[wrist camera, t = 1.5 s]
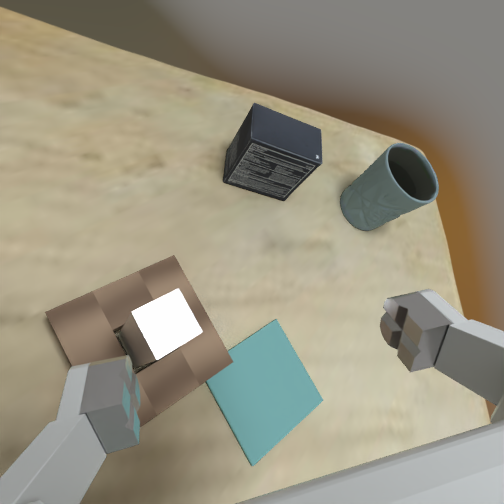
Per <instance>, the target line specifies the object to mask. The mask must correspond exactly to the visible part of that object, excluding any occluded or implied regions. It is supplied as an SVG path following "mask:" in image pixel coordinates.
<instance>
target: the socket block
mask: <svg viewBox="0 0 504 504" xmlns="http://www.w3.org/2000/svg"><path fill="white" fill-rule="evenodd" d="M178 288H179V290H180V292H181V293H182V295H183V297H184V299H185V301H186V303H187V304H188V306H189V308H190V310H191V312H192V313H193V315H194V317H195V319H196V321H197V322H198V324H199V326H200V328H201V330H202V333H201V334H199V335H197V336H196V337H194V338H192V339H191V340H189V341H187V342H186V343H184V344H182V345H181V346H179V347H177V348H176V349H174V350H173V351H172V352H170V353H168V354H167V355H165V356H163V357H162V358H160V359H158V360H157V361H155V362H153V363H152V364H150V365H148V366H147V367H145V368H144V369H142V370H140V371H139V372H137V373H135V372H134V370H133V368H132V372H133V373H135V374H136V376H137V379H138V383H139V388H140V408H139V409H138V411H137V412H136V413H137V415H138V418H139V421H140V427H141V426H143V425H144V424H146V423H147V422H148V421H150V420H151V419H153V418H154V417H156V416H157V415H158V414H160V413H161V412H163V411H164V410H166V409H167V408H168V407H170V406H171V405H173V404H174V403H176V402H177V401H178V400H180V399H181V398H183V397H184V396H186V395H187V394H188V393H190V392H191V391H193V390H194V389H196V388H197V387H198V386H200V385H201V384H203V383H204V382H206V381H207V380H208V379H210V378H211V377H213V376H214V375H216V374H217V373H218V372H220V371H221V370H223V369H224V368H226V367H227V366H228V365H230V364H231V363H233V360H232V358H231V356H230V355H229V353H228V351H227V349H226V347H225V346H224V344H223V342H222V340H221V338H220V337H219V335H218V333H217V331H216V329H215V328H214V326H213V324H212V322H211V321H210V319H209V317H208V315H207V313H206V312H205V310H204V308H203V306H202V304H201V303H200V301H199V299H198V297H197V295H196V294H195V292H194V290H193V288H192V286H191V285H190V283H189V281H188V279H187V277H186V276H185V274H184V272H183V270H182V268H181V267H180V265H179V263H178V261H177V259H176V258H175V256H171V257H169V258H167V259H164V260H162V261H160V262H158V263H155V264H153V265H151V266H149V267H146V268H144V269H142V270H140V271H137V272H135V273H133V274H131V275H128V276H126V277H124V278H121V279H119V280H117V281H115V282H112V283H110V284H108V285H106V286H103V287H101V288H99V289H97V290H94V291H92V292H90V293H88V294H85V295H83V296H81V297H78V298H76V299H74V300H72V301H69V302H67V303H65V304H63V305H60V306H58V307H56V308H54V309H51V310H49V311H47V312H45V313H46V315H47V317H48V319H49V321H50V323H51V325H52V327H53V329H54V331H55V333H56V335H57V337H58V339H59V341H60V343H61V345H62V347H63V349H64V351H65V353H66V355H67V357H68V359H69V361H70V363H71V365H72V366H76V365H81V364H87V363H91V362H95V361H100V360H105V359H111V358H116V357H121V356H126V355H125V353H124V351H123V349H122V347H121V345H120V343H119V341H118V339H117V337H116V336H115V334H114V332H116V331H118V330H120V329H121V328H122V327H123V326H124V324H125V322H126V320H127V319H128V317H129V315H130V314H131V312H132V311H134V310H136V309H138V308H140V307H142V306H144V305H146V304H148V303H150V302H152V301H154V300H156V299H158V298H160V297H162V296H164V295H166V294H168V293H170V292H172V291H174V290H176V289H178Z"/></svg>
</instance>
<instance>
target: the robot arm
mask: <svg viewBox="0 0 504 504" xmlns="http://www.w3.org/2000/svg"><path fill="white" fill-rule="evenodd" d="M383 308H384V309H385V311H386V313H385V314H384V315H383V316H382V318H381V322H380V328H381V333H382V335H383V337H384V340H385V341H386V342H387V344H388V345H389V346H391V347H393V348H395V349H397V356H398V358H399V359H400V360H401V361H402V363H403V364H404V365H405V366H406V368H407V369H408V370H409V371H410V372H413V371H418V370H422V369H426V368H430V367H434V368H435V369H437V370H438V371H440V372H442V373H443V374H445V375H447V376H448V377H450V378H452V379H453V380H455V381H457V382H458V383H460V384H462V385H463V386H465V387H466V388H468V389H470V390H471V391H473V392H475V393H476V394H478V395H480V396H481V397H483V398H485V399H486V400H488V401H490V402H491V403H493V404H495V405H496V406H497V407H496V409H495V410H494V412H493V414H492V416H491V422H492V424H488V425H485V426H482V427H479V428H476V429H472V430H469V431H466V432H463V433H460V434H456V435H453V436H450V437H447V438H444V439H440V440H437V441H434V442H431V443H428V444H424V445H421V446H418V447H415V448H412V449H408V450H405V451H402V452H399V453H395V454H392V455H389V456H386V457H383V458H379V459H376V460H373V461H370V462H367V463H363V464H360V465H357V466H354V467H351V468H347V469H344V470H341V471H338V472H335V473H332V474H328V475H325V476H322V477H319V478H316V479H312V480H309V481H306V482H303V483H300V484H296V485H293V486H290V487H287V488H284V489H280V490H277V491H274V492H271V493H268V494H264V495H261V496H258V497H255V498H252V499H249V500H245V501H242V502H239V503H236V504H504V332H503V331H501V330H499V329H496V328H493V327H491V326H488V325H485V324H483V323H480V322H477V321H475V320H467V319H466V318H465V317H464V316H462V315H461V314H460V313H459V312H458V311H457V310H455V309H454V308H453V307H452V306H451V305H450V304H449V303H447V302H446V301H445V300H444V299H443V298H442V297H440V296H439V295H438V294H437V293H436V292H435V291H433V290H431V289H426V290H421V291H417V292H414V293H408V294H404V295H400V296H395V297H391V298H387V299H386V301H385V302H384V307H383ZM139 408H140V388H139V383H138V379H137V376H136V374H135V373H133V372H132V362H131V359H130V357H129V356H128V355H126V356H121V357H116V358H111V359H105V360H100V361H95V362H91V363H87V364H81V365H76V366H72V367H71V368H70V370H69V371H68V374H67V378H66V381H65V385H64V389H63V393H62V397H61V401H60V405H59V409H58V413H57V417H56V421H53V422H49V423H48V424H47V426H46V427H45V428H44V429H43V430H42V431H41V432H40V434H39V435H38V436H37V437H36V438H35V439H34V440H33V441H32V443H31V444H30V445H29V446H28V447H27V448H26V449H25V451H24V452H23V453H22V454H21V455H20V456H19V457H18V458H17V460H16V461H15V462H14V463H13V464H12V465H11V466H10V467H9V469H8V470H7V471H6V472H5V473H4V474H3V475H2V477H1V478H0V504H80V502H81V500H82V498H83V497H84V495H85V493H86V491H87V490H88V488H89V486H90V484H91V483H92V481H93V479H94V477H95V476H96V474H97V472H98V470H99V469H100V467H101V465H102V463H103V462H104V460H105V458H106V456H107V455H106V454H108V453H111V452H115V451H118V450H122V449H125V448H128V447H132V446H135V445H139V430H140V421H139V418H138V415H137V413H136V412H137V411H138V409H139Z"/></svg>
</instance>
